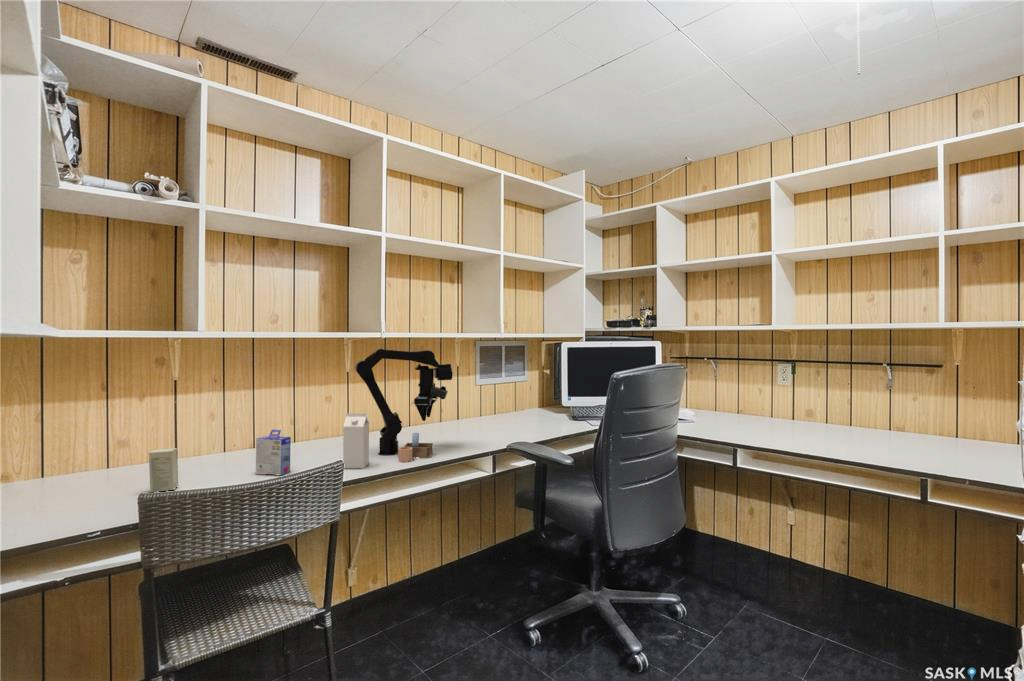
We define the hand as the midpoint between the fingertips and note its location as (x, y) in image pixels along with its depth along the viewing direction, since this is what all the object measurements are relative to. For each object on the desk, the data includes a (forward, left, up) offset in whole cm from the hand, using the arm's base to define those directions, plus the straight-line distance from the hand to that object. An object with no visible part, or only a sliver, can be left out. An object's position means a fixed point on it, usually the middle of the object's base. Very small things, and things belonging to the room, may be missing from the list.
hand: (426, 418), depth 204 cm
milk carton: (-20, -26, -13) cm, 35 cm away
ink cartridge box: (-45, -36, -13) cm, 59 cm away
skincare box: (-68, -56, -13) cm, 89 cm away
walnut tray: (-1, -9, -13) cm, 16 cm away
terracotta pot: (-4, -17, -13) cm, 22 cm away
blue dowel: (-2, -9, -13) cm, 16 cm away
